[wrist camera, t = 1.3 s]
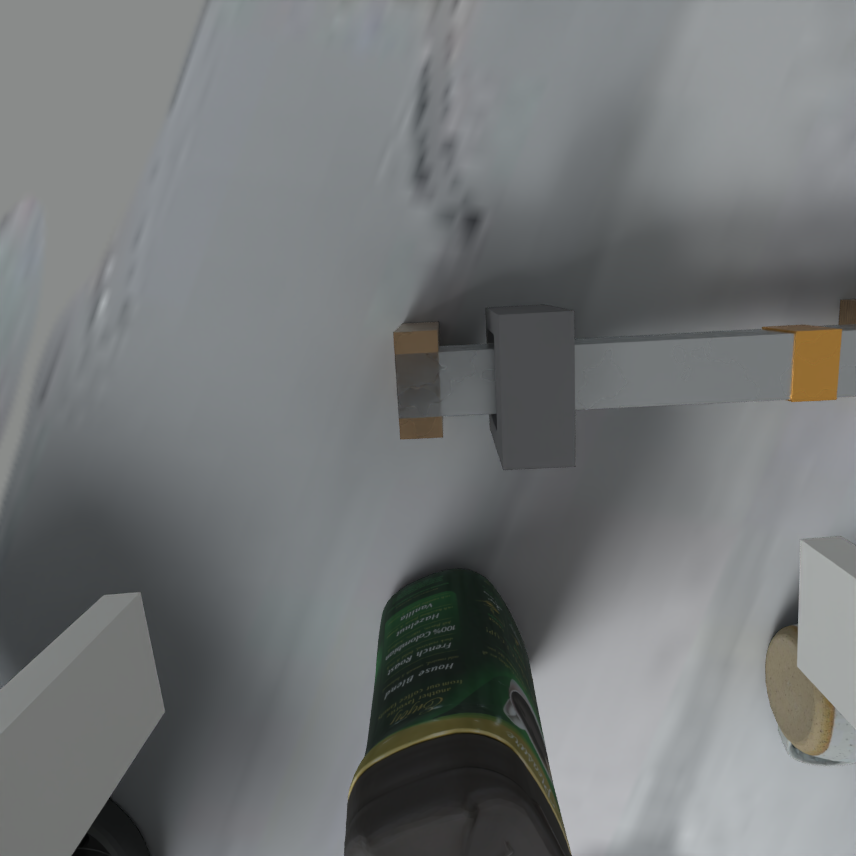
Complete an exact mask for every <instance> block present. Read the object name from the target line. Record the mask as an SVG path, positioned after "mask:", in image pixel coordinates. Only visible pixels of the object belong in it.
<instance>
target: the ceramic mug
mask: <svg viewBox="0 0 856 856" xmlns="http://www.w3.org/2000/svg"><path fill="white" fill-rule="evenodd" d="M797 648H798V624H795V625H790V626H787V627H784V628H782V629H781V630H779V631H778V632H777V634H776V635H775V636H774V637H773V639H772V640H771V642H770V644H769V647H768V651H767V655H766V664H765V674H766V686H767V693H768V697H769V701H770V706H771V709H772V711H773V714H774V716H775V719H776V721H777V723H778V731H779V734H780V737H781V740H782V743H783V745H784V747H785V749H786V751H787V753H788V754H789V755H790V756H791V757H792V758H793V759H795V760H797V761H799V762H802V763H806V764H811V765H817V766H843V765H848V764H854V763H856V729H855V728H854V727H853V726H852V725H851V724H850V723H849V722H848V721H847V720H846V719H845V718H844V717H843V715H842V714H841V713H840V712H839V711H838V710H837V709H836V708H835V707H834V706H833V705H832V704H831V702H830V701H829V700H828V699H827V698H826V697H825V696H824V695H823V694H822V693H821V692H820V691H819V690H818V688H817V687H816V686H815V685H814V684H813V683H812V682H811V681H810V680H809V679H808V678H807V677H806V676H805V674H804V673H803V672H802V671H801V670H800V669H799V668H798V667H797Z"/></svg>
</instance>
